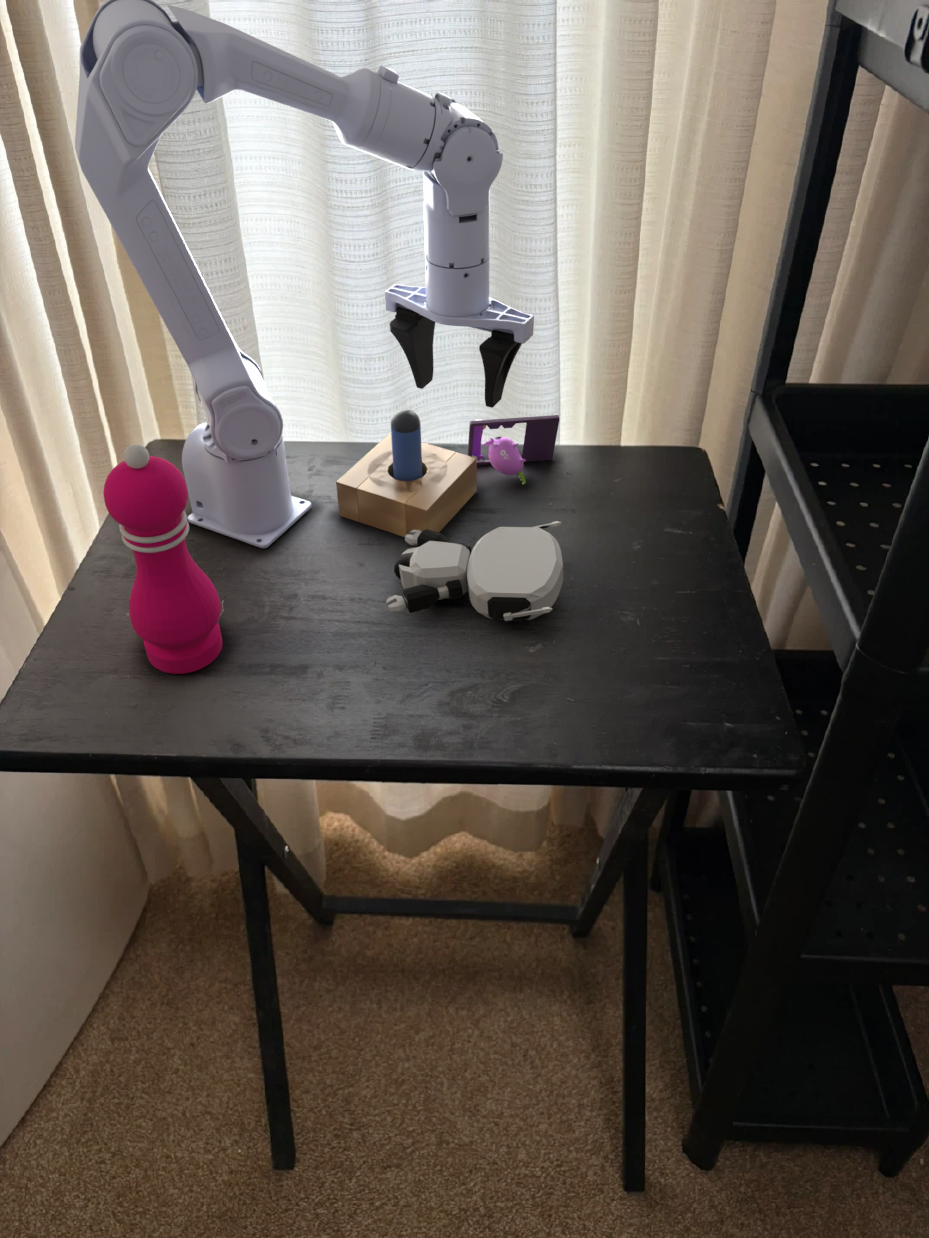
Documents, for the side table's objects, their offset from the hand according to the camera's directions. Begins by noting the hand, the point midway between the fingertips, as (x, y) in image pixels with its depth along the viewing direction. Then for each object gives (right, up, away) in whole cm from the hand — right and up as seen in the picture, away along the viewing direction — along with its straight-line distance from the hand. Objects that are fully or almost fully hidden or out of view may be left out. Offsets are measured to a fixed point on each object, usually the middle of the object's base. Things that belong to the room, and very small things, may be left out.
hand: (458, 393), depth 100 cm
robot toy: (+2, -20, -8) cm, 21 cm away
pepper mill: (-23, -25, -13) cm, 36 cm away
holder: (-5, -10, +3) cm, 12 cm away
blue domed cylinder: (-5, -10, +3) cm, 12 cm away
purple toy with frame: (+6, -7, +7) cm, 11 cm away
